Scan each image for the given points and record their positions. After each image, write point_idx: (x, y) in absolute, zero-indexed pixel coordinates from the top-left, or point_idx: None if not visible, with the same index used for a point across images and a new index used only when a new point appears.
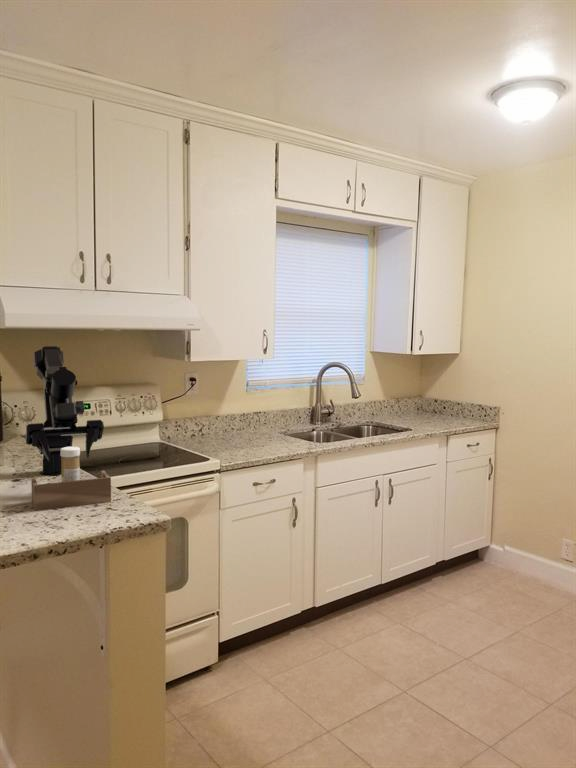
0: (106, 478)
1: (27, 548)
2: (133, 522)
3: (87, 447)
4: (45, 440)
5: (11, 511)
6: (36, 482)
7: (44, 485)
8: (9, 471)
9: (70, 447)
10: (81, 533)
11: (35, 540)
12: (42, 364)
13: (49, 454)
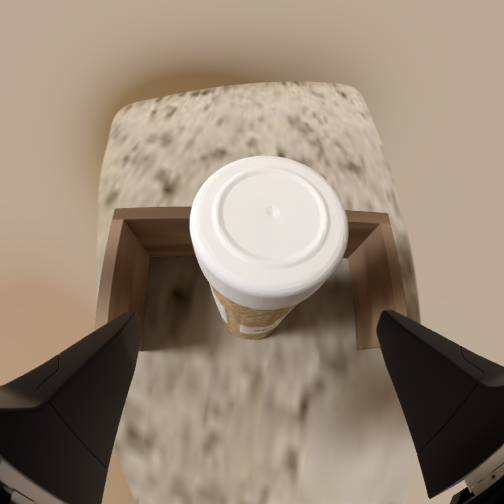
0: (129, 208)
1: (335, 84)
2: (166, 105)
3: (103, 340)
4: (484, 380)
5: (405, 267)
6: (387, 253)
7: (357, 213)
8: None
9: (267, 233)
10: (261, 92)
11: (330, 98)
12: None
13: (400, 322)
